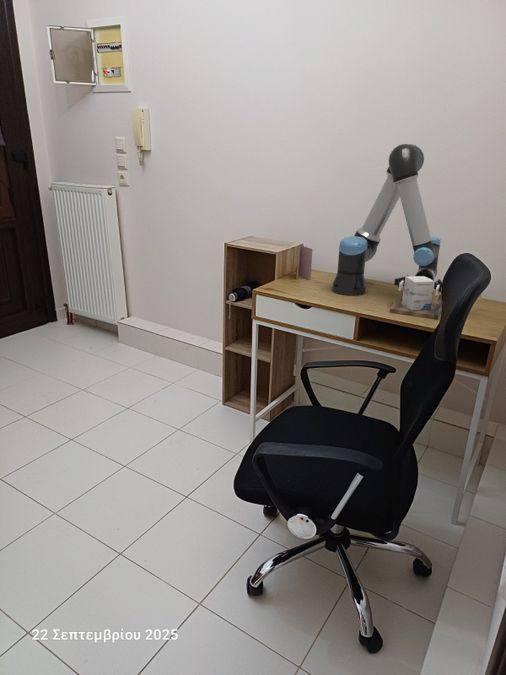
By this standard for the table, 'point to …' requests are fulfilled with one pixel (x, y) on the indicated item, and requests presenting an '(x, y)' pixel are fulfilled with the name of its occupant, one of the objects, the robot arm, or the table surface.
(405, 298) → the ink box
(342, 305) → the table surface
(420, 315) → the walnut stand
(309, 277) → the greeting card
